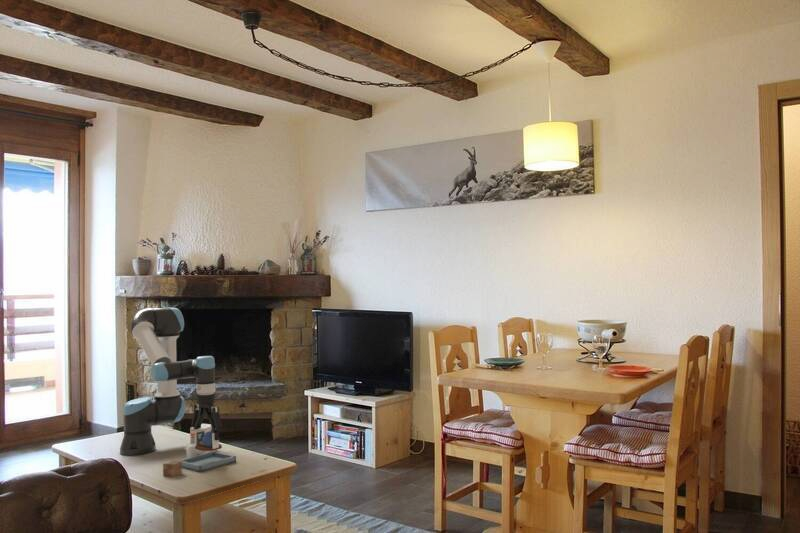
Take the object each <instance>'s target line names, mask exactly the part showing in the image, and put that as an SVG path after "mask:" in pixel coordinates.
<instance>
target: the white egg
mask: <svg viewBox="0 0 800 533" xmlns="http://www.w3.org/2000/svg"><path fill="white" fill-rule="evenodd" d="M195 447H196V445H195V444H191V445H190V444H188V445H186V459H187V458H190V457H194V456H198V454H197V449H195Z"/></svg>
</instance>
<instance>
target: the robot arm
mask: <svg viewBox="0 0 800 533" xmlns="http://www.w3.org/2000/svg"><path fill="white" fill-rule="evenodd" d="M184 328H185V319H184V316H183V314H182V311H181V310H180V309H179V308H177V307H158V308H155V307H154V308H142V309H141V310H139V311H138V312H136V313H135V314H134V315H133V317H132V319H131V320H130V325H129V330H130V333H131V335H132V337H133V338H134V339H135V340H137V341H138V343H139V344H140V346H141V349H143V352H144V353H145V356H146V357H147V359H148V361H149V362H150V364H151V366H150V370H149V371H150V372H149V373H150V377H151V380H152V381H153V382H157V383H156V384H157V390H156V393H155V394H154V396H153V399H152V398H151V397H147V396H146V397H139V398H134V399H132V400H129V401H127V402H125V403H124V406H123V413H122V414H123V436H122V440H121V444H120V447H119V454H121V455H124V456H138V455H144V454H145V455H146V454H148V453H152V452H155V451H156V448H157V447H156V446H157V445H156V441H155V439H154V436H153V434H152V427H153V426H158V425H160V426H161V425H164V424H166V425H167V424H172V423H176V422H179V421H181V420H182V419H183V417H184V415H185V411H186V402H185V401H186V400H185V398H184V397H183V396H181V392H180V391H178V386H177V385H178V383H177V382H178V380H182V379H183V380H184V379H193V378H196V394H197V395H196V403H197V404H194V405H193V414H192V420H191V423H190V424H191V425H190V426H191V427H194V429H195V445H196V444H197V442H196V433H197V432H202V429H201V424H203V421H204V419H205V417H206V419H208V422H209V424H211V427H212V429H213V432H212V449H215V448H219V444H220V432H222V431H223V430H224V428H223V425H222V421H221V416H220V407H219V406H214V403H216V394H215V393H216V363H215V357H214V356H213V355H202V356H197V357H196V358H193V359H191V358H189V359H187V360H181V361H180V360H178V361H177V340H178V338H179V337H180V333H181V332H183V331H184ZM191 427H190V428H191ZM199 428H200V429H199ZM201 435H202V434H198V437H199V439H200V438H201ZM199 443H200V441H199Z"/></svg>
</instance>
